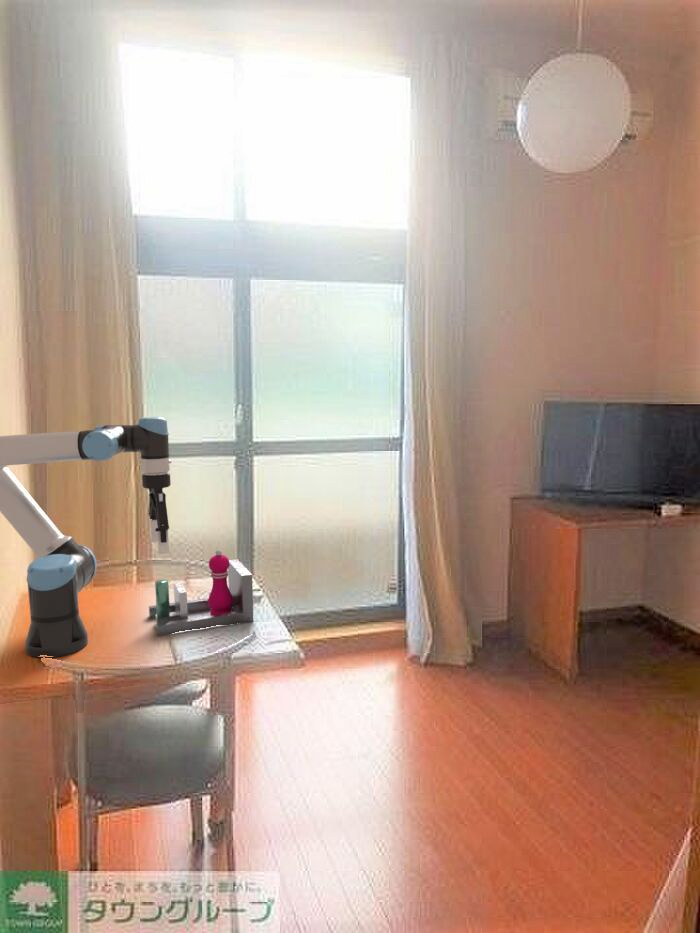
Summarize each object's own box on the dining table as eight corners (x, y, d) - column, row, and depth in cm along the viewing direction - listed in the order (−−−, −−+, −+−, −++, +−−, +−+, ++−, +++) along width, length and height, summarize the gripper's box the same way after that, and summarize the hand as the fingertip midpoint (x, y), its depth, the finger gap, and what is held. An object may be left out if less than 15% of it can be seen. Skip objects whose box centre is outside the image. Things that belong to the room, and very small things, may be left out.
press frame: (157, 636, 184) (154, 587, 182) (149, 616, 199) (146, 570, 197) (253, 621, 194) (252, 574, 192) (238, 602, 210) (237, 559, 208)
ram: (159, 630, 187) (156, 587, 186) (154, 618, 196) (152, 577, 195) (188, 626, 190) (186, 583, 189) (182, 614, 200) (180, 573, 198)
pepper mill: (236, 611, 202) (234, 546, 199) (229, 620, 195) (227, 553, 192) (212, 610, 203) (210, 546, 200) (205, 619, 196) (202, 553, 193)
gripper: (177, 478, 177) (181, 556, 180) (162, 466, 199) (166, 536, 202) (148, 480, 174) (152, 560, 177) (136, 467, 196) (140, 538, 199)
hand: (159, 547), depth 190 cm, fingers open, 13 cm apart
